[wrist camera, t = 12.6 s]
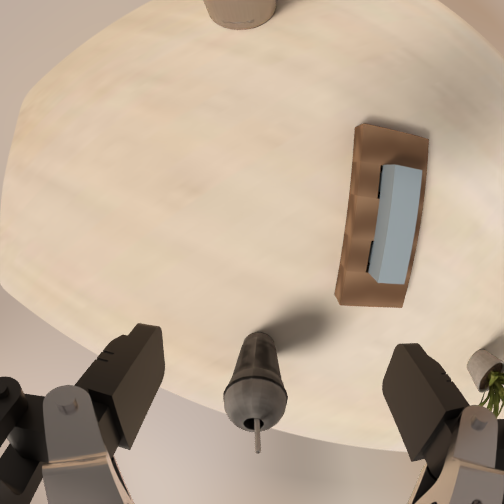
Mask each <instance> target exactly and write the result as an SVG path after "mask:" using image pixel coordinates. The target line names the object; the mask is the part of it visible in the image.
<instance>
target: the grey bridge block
mask: <svg viewBox="0 0 504 504" xmlns="http://www.w3.org/2000/svg"><path fill="white" fill-rule="evenodd" d="M421 179H422V170H419V169H414V168H409V167H405V166H400V165H383V170H382V172H380V179H379V188H378V191H379V192H380V200H379V208H378V216H377V223H376V230H375V237H374V242H371V246H370V252H369V258H368V262H369V263H370V266H369V271H368V273H369V274H370V275H371V276H372V277H373V278H374V279H375V280H376V281H377V282H378V283H389V284H404V283H405V279H406V274H407V270H408V265H409V260H410V255H411V250H412V245H413V239H414V233H415V227H416V220H417V214H418V206H419V198H420V189H421Z"/></svg>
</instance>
